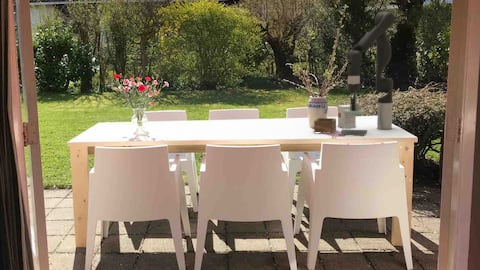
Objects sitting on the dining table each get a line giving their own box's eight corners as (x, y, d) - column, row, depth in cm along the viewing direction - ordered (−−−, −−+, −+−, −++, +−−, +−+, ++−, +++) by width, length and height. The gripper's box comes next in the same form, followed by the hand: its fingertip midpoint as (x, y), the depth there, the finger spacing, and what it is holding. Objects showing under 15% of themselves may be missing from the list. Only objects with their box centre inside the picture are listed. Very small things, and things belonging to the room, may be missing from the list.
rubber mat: (342, 130, 334) (342, 129, 334) (367, 130, 329) (367, 130, 329) (338, 135, 318) (338, 134, 317) (364, 136, 312) (364, 135, 312)
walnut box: (318, 130, 339) (317, 118, 337) (336, 130, 335) (336, 118, 333) (314, 133, 328) (314, 120, 326) (333, 133, 324) (333, 121, 322)
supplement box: (337, 126, 349) (337, 105, 346) (349, 125, 352) (349, 104, 349) (344, 128, 340) (344, 106, 338) (355, 127, 343) (356, 105, 340)
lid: (345, 112, 328) (345, 102, 327) (364, 112, 324) (364, 102, 323) (343, 114, 317) (343, 104, 316) (363, 115, 313) (363, 104, 312)
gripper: (349, 82, 325) (348, 109, 328) (346, 83, 312) (346, 111, 315) (361, 82, 323) (360, 109, 325) (358, 83, 310) (358, 111, 312)
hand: (353, 110), depth 320 cm, fingers closed on lid, 2 cm apart
